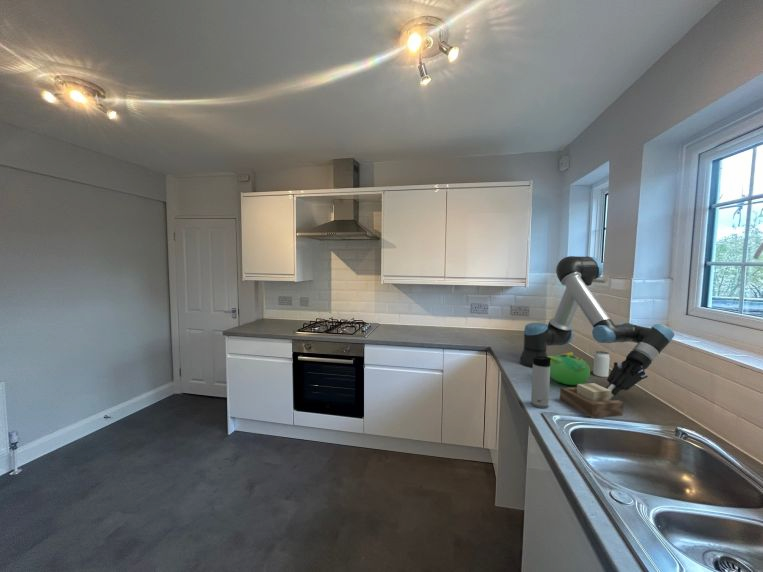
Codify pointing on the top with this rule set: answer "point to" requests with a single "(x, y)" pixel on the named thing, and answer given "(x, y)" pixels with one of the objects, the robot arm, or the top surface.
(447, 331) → the top surface
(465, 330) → the top surface
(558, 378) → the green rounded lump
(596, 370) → the can
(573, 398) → the wooden tray
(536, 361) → the travel mug
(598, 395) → the block
